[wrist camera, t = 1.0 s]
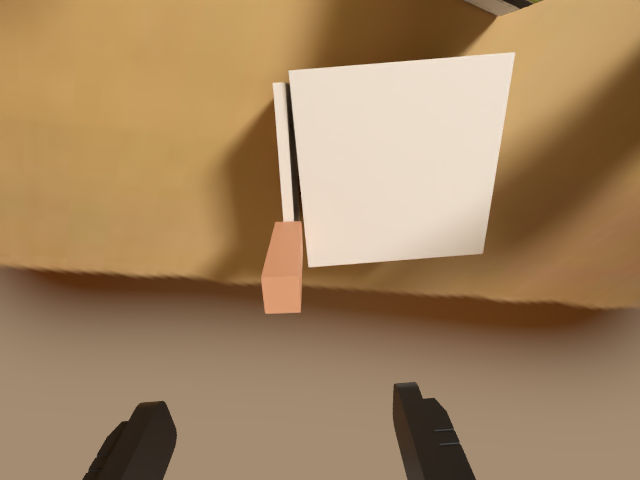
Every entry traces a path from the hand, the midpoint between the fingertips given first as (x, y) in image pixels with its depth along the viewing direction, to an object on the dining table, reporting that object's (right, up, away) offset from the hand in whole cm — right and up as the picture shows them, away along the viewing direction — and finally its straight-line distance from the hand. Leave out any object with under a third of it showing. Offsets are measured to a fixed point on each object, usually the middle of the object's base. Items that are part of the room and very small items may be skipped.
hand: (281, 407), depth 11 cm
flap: (-1, +14, +21) cm, 26 cm away
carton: (+7, +15, +21) cm, 27 cm away
